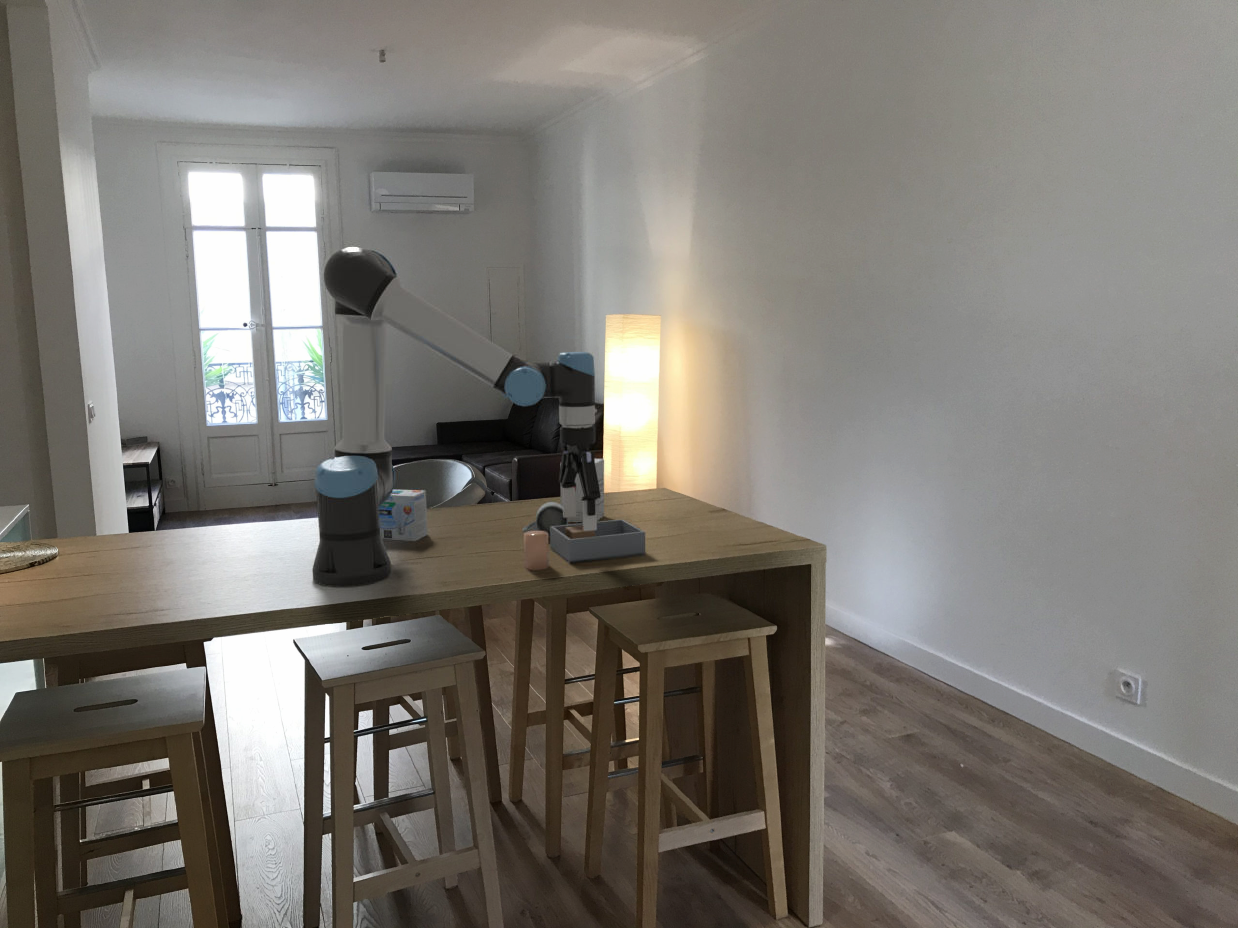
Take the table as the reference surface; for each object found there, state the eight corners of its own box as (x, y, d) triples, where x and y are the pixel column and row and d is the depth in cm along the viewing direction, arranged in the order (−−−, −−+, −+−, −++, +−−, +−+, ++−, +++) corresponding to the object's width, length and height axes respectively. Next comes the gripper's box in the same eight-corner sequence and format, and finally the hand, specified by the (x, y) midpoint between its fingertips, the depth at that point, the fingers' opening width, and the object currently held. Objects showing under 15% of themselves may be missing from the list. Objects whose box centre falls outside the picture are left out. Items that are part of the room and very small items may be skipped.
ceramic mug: (567, 529, 224) (566, 497, 223) (569, 537, 216) (567, 505, 215) (523, 531, 223) (521, 500, 222) (523, 539, 215) (521, 507, 214)
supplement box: (559, 522, 232) (558, 462, 229) (571, 514, 240) (570, 456, 237) (594, 524, 229) (593, 464, 226) (605, 516, 237) (604, 458, 235)
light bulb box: (373, 539, 216) (371, 493, 215) (387, 532, 223) (385, 488, 221) (416, 541, 214) (414, 495, 212) (428, 534, 220) (426, 490, 218)
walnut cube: (595, 552, 200) (594, 530, 199) (573, 555, 198) (572, 532, 198) (587, 547, 205) (586, 525, 204) (565, 549, 203) (565, 527, 202)
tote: (569, 563, 194) (568, 540, 193) (550, 548, 206) (550, 526, 205) (645, 554, 200) (645, 532, 199) (622, 540, 212) (622, 519, 212)
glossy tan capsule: (528, 571, 189) (527, 537, 188) (521, 564, 194) (520, 532, 192) (552, 568, 191) (551, 535, 190) (544, 562, 195) (544, 529, 194)
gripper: (615, 431, 187) (616, 534, 191) (575, 418, 210) (577, 510, 214) (580, 433, 184) (581, 537, 188) (543, 419, 207) (545, 513, 211)
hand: (579, 523), depth 201 cm, fingers open, 13 cm apart
